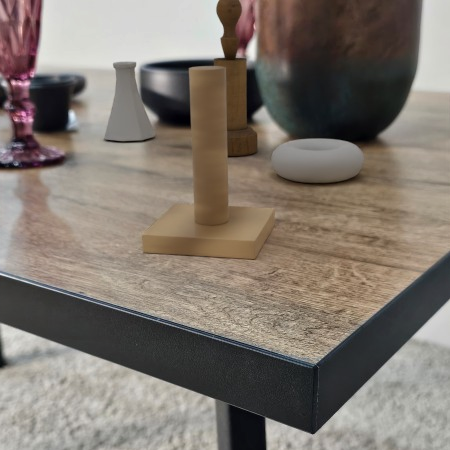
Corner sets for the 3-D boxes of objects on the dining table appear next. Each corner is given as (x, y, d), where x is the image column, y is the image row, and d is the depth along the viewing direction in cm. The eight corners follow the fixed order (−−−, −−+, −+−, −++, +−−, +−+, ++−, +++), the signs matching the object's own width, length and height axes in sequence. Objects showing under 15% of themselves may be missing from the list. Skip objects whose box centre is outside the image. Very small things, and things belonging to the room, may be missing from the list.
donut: (262, 169, 84) (282, 188, 75) (262, 138, 83) (282, 155, 74) (347, 164, 86) (376, 183, 77) (348, 134, 84) (378, 149, 75)
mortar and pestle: (266, 148, 94) (266, -5, 87) (243, 158, 89) (242, -4, 82) (220, 144, 97) (216, -4, 90) (195, 154, 92) (190, -3, 85)
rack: (142, 252, 58) (130, 74, 53) (175, 219, 66) (168, 61, 61) (255, 259, 56) (254, 74, 51) (274, 224, 64) (276, 62, 59)
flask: (162, 133, 105) (158, 59, 101) (146, 143, 99) (141, 65, 95) (114, 132, 107) (109, 59, 103) (95, 142, 100) (88, 65, 96)
